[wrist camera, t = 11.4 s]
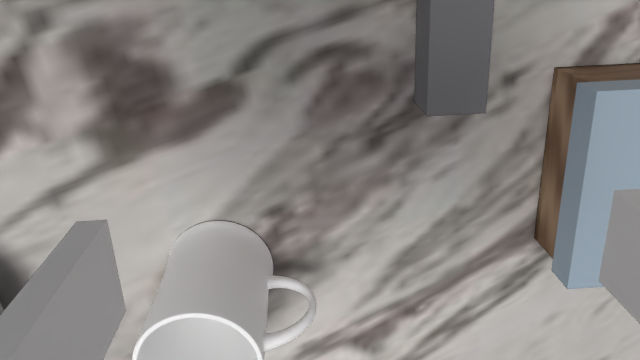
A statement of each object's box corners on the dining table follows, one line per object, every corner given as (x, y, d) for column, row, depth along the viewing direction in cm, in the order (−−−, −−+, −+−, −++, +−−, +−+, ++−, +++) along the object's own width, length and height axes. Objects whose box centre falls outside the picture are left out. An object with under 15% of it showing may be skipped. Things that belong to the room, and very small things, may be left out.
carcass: (554, 67, 40) (623, 96, 32) (659, 62, 40) (755, 89, 32) (534, 237, 45) (589, 300, 37) (626, 231, 46) (702, 293, 37)
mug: (311, 216, 44) (318, 304, 32) (313, 306, 47) (321, 415, 36) (161, 221, 43) (117, 313, 32) (174, 312, 46) (137, 424, 35)
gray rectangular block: (418, -78, 36) (433, -82, 32) (479, -81, 36) (500, -85, 32) (414, 101, 40) (426, 116, 37) (468, 99, 41) (485, 113, 37)
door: (576, 82, 35) (597, 91, 33) (713, 75, 36) (742, 83, 33) (551, 270, 41) (567, 288, 38) (670, 262, 41) (693, 281, 39)
